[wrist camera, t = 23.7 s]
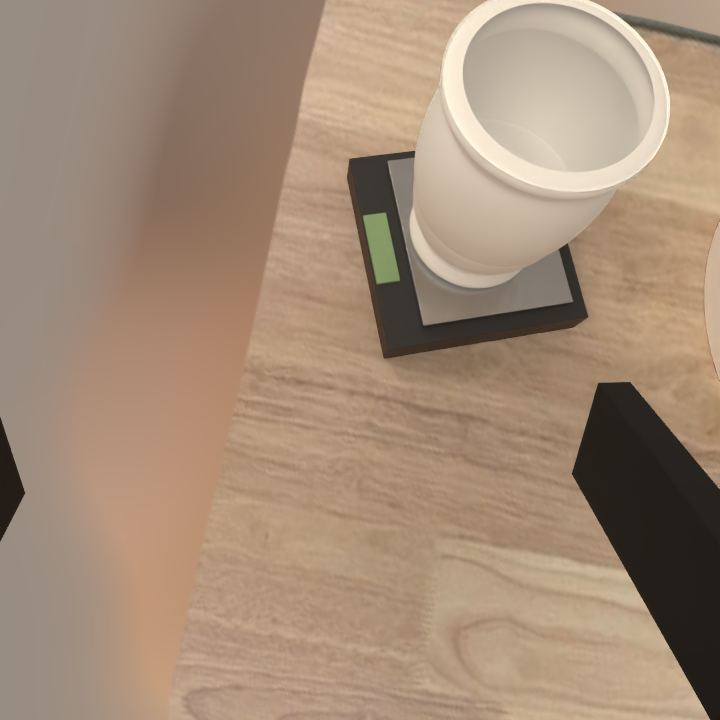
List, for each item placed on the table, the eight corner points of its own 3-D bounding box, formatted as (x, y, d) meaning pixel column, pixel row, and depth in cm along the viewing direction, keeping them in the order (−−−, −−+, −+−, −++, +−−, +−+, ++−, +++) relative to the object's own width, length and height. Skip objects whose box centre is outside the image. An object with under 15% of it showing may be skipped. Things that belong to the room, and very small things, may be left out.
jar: (365, 255, 41) (400, 114, 26) (436, 137, 43) (503, -51, 29) (507, 333, 40) (622, 234, 26) (570, 209, 43) (706, 57, 29)
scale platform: (385, 166, 43) (387, 160, 43) (525, 149, 45) (529, 142, 44) (421, 329, 41) (423, 325, 40) (568, 305, 42) (573, 301, 41)
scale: (346, 177, 46) (349, 156, 43) (525, 154, 48) (538, 134, 45) (383, 358, 43) (388, 348, 40) (573, 327, 45) (589, 316, 42)
